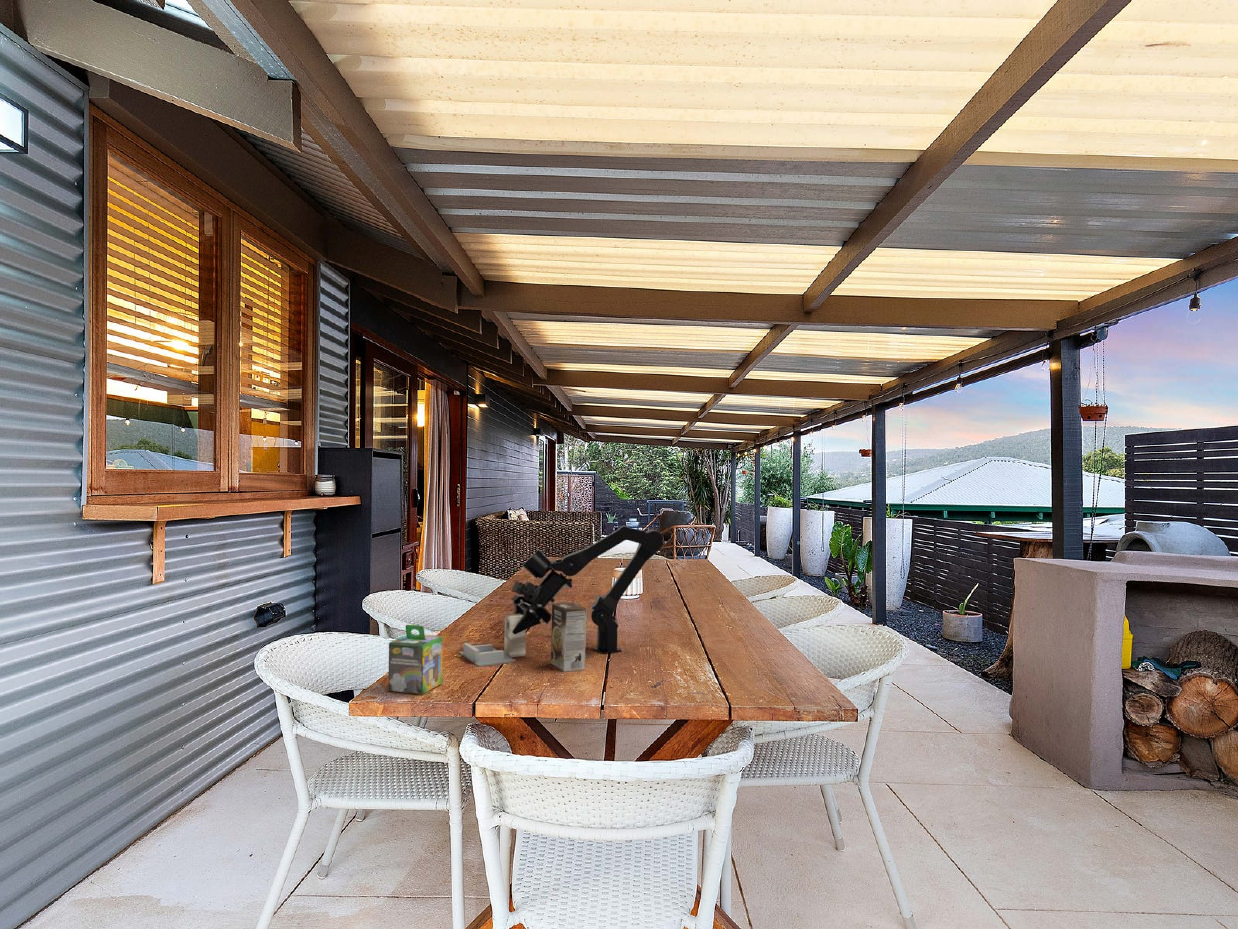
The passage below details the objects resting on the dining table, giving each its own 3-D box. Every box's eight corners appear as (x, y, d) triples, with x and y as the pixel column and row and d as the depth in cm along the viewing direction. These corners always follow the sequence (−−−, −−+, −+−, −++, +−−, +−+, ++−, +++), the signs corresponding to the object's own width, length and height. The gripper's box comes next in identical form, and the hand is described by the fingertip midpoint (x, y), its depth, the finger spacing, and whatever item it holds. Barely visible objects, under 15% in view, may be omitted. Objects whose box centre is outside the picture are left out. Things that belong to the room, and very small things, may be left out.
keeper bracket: (515, 662, 182) (515, 649, 183) (479, 667, 177) (479, 653, 177) (493, 649, 196) (494, 637, 196) (459, 653, 191) (459, 641, 191)
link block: (525, 655, 190) (526, 616, 190) (509, 657, 187) (510, 617, 188) (518, 652, 194) (519, 613, 194) (503, 654, 191) (504, 614, 191)
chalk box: (443, 684, 161) (444, 622, 162) (421, 696, 152) (423, 629, 153) (409, 680, 164) (410, 619, 164) (386, 691, 155) (388, 626, 155)
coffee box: (549, 663, 182) (551, 603, 182) (571, 661, 185) (572, 601, 185) (563, 672, 174) (564, 609, 174) (586, 669, 177) (587, 607, 177)
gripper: (518, 567, 201) (481, 607, 196) (542, 575, 185) (502, 618, 179) (542, 592, 205) (506, 632, 199) (567, 602, 188) (529, 645, 183)
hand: (510, 631), depth 190 cm, fingers closed on link block, 5 cm apart
